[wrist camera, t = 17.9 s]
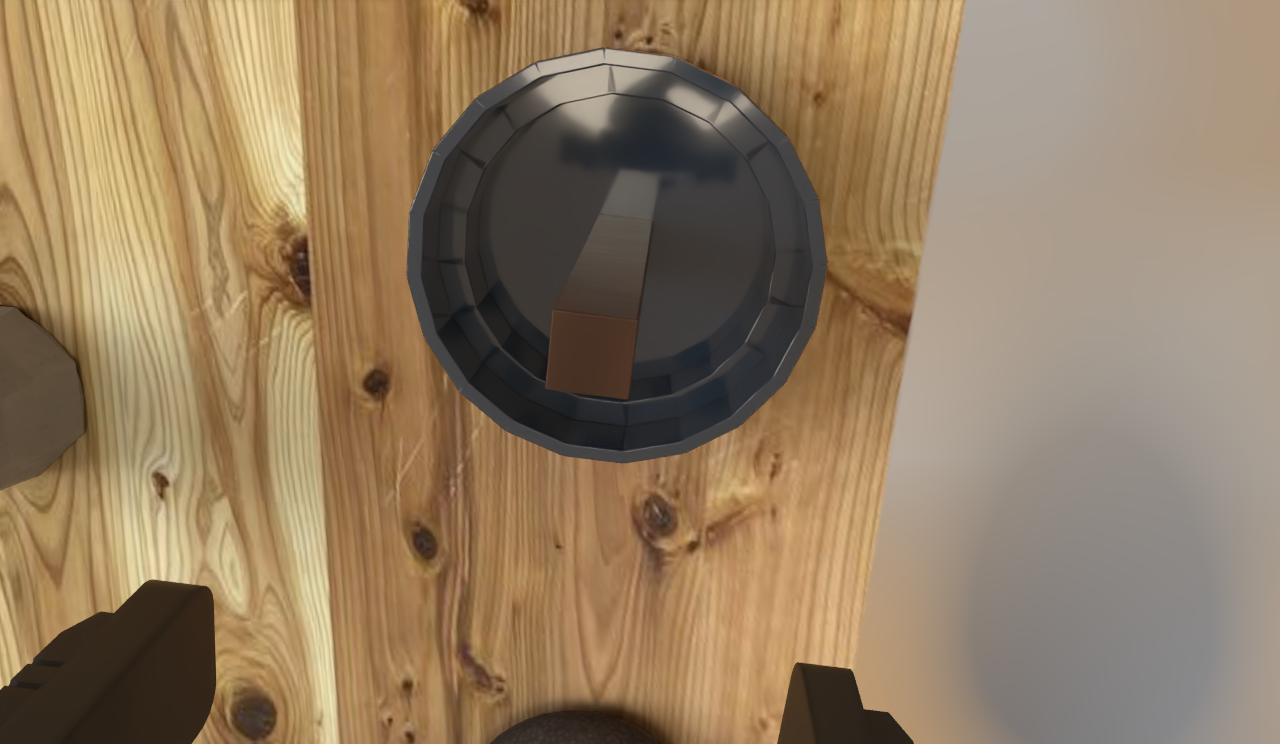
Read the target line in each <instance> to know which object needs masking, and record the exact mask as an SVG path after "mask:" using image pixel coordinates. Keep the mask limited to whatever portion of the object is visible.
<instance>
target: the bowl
mask: <svg viewBox="0 0 1280 744" xmlns="http://www.w3.org/2000/svg"><path fill="white" fill-rule="evenodd" d="M599 214H601V215H609V216H617V217H625V218H633V219H641V220H649V221H653V226H652V234H651V242H650V250H649V258H648V266H647V274H646V281H645V288H644V295H643V302H642V309H641V316H640V323H639V330H638V336H637V343H636V350H635V357H634V364H633V371H632V378H631V385H630V392H629V398H628V399H619V398H611V397H603V396H595V395H587V394H579V393H571V392H563V391H556V390H548V389H546V388H545V387H546V376H547V365H548V355H549V344H550V333H551V322H552V311H553V309H554V307H555V305H556V302H557V300H558V298H559V296H560V294H561V292H562V290H563V288H564V286H565V284H566V282H567V280H568V278H569V275H570V273H571V271H572V269H573V267H574V265H575V263H576V261H577V259H578V257H579V255H580V253H581V251H582V249H583V246H584V244H585V242H586V240H587V238H588V236H589V234H590V232H591V230H592V228H593V226H594V224H595V222H596V220H597V217H598V215H599ZM827 263H828V262H827V254H826V247H825V240H824V232H823V225H822V218H821V210H820V203H819V199H818V196H817V194H816V191H815V189H814V187H813V185H812V183H811V181H810V179H809V177H808V175H807V173H806V171H805V169H804V167H803V165H802V163H801V161H800V159H799V157H798V155H797V153H796V151H795V149H794V147H793V145H792V143H791V141H790V139H789V138H788V137H787V135H786V134H785V133H784V132H783V131H782V130H781V129H780V128H779V127H778V126H777V125H776V124H775V123H774V122H773V121H772V120H771V119H770V118H769V117H768V116H767V115H766V114H765V113H764V112H763V111H762V110H761V109H760V108H759V107H758V106H757V105H756V104H755V103H754V102H753V101H752V100H751V99H750V98H749V97H748V96H747V95H746V94H745V93H744V92H743V91H742V90H741V89H740V88H738V87H737V86H736V85H734V84H732V83H731V82H729V81H727V80H725V79H723V78H721V77H719V76H717V75H715V74H713V73H711V72H709V71H707V70H705V69H703V68H701V67H699V66H697V65H695V64H693V63H691V62H689V61H687V60H684V59H682V58H680V57H678V56H675V55H671V54H663V53H655V52H647V51H639V50H631V49H623V48H611V47H606V48H598V49H593V50H589V51H584V52H579V53H574V54H569V55H565V56H560V57H555V58H550V59H546V60H541V61H537V62H535V63H532V64H531V65H529V66H527V67H526V68H524V69H522V70H521V71H519V72H517V73H516V74H514V75H512V76H511V77H509V78H507V79H506V80H504V81H502V82H501V83H499V84H497V85H496V86H494V87H492V88H491V89H489V90H487V91H486V92H484V93H482V94H481V95H479V96H478V97H477V98H475V99H474V100H473V102H472V103H471V104H470V105H469V106H468V108H467V109H466V110H465V111H464V112H463V114H462V115H461V116H460V117H459V118H458V120H457V121H456V122H455V123H454V124H453V126H452V127H451V128H450V129H449V130H448V132H447V133H446V134H445V135H444V136H443V138H442V139H441V140H440V141H439V142H438V144H437V145H436V146H435V147H434V150H433V151H432V153H431V155H430V158H429V160H428V163H427V166H426V168H425V171H424V174H423V176H422V179H421V182H420V184H419V187H418V189H417V192H416V195H415V197H414V200H413V203H412V205H411V208H410V212H409V226H408V251H407V279H408V283H409V287H410V290H411V294H412V297H413V301H414V304H415V308H416V312H417V315H418V319H419V322H420V326H421V329H422V333H423V336H424V337H425V340H426V342H427V344H428V345H429V347H430V348H431V350H432V351H433V353H434V354H435V356H436V357H437V359H438V360H439V362H440V364H441V365H442V367H443V368H444V370H445V371H446V373H447V374H448V376H449V377H450V379H451V380H452V382H453V384H454V385H455V387H456V388H457V390H459V392H460V393H461V394H462V395H464V396H465V397H466V398H467V399H468V400H469V401H471V402H472V403H473V404H474V405H475V406H477V407H478V408H479V409H480V410H481V411H483V412H484V413H485V414H486V415H487V416H488V417H490V418H491V419H492V420H493V421H494V422H496V423H497V424H498V425H499V426H500V427H502V428H503V429H504V430H505V431H506V430H507V432H509V433H511V434H514V435H516V436H518V437H521V438H523V439H525V440H527V441H530V442H532V443H534V444H537V445H539V446H541V447H543V448H546V449H548V450H550V451H553V452H555V453H557V454H559V455H563V456H568V457H576V458H584V459H592V460H600V461H608V462H616V463H630V462H636V461H642V460H648V459H655V458H661V457H667V456H673V455H679V454H684V453H687V452H689V451H691V450H693V449H695V448H697V447H699V446H701V445H703V444H705V443H707V442H709V441H711V440H713V439H715V438H717V437H719V436H721V435H723V434H725V433H727V432H729V431H732V430H734V429H736V428H738V427H739V425H742V424H743V423H744V422H745V421H746V420H747V419H748V418H749V417H750V416H751V415H753V414H754V413H755V412H756V411H757V410H758V409H759V408H760V407H761V406H762V405H763V404H764V403H765V402H766V401H767V400H768V399H769V398H770V397H772V396H773V395H774V394H775V393H776V392H777V391H778V390H779V389H780V388H781V387H782V386H783V385H784V384H785V382H786V381H787V379H788V378H789V376H790V374H791V372H792V370H793V369H794V367H795V365H796V363H797V361H798V359H799V358H800V356H801V354H802V352H803V350H804V349H805V347H806V345H807V343H808V341H809V339H810V338H811V336H812V334H813V332H814V330H815V327H816V325H817V319H818V314H819V309H820V303H821V298H822V293H823V287H824V282H825V277H826V271H827Z"/></svg>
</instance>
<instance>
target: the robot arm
mask: <svg viewBox="0 0 1280 744" xmlns="http://www.w3.org/2000/svg"><path fill="white" fill-rule="evenodd" d="M215 688H216V660H215V629H214V601H213V595H212V592H211V590H210V589H209V588H208V587H207V586H199V585H192V584H184V583H176V582H168V581H160V580H149V581H147V582H145V583H144V584H143V585H142V586H141V587H140V588H139V589H138V590H137V591H136V592H135V593H134V594H133V595H132V596H131V597H130V598H129V599H128V600H127V601H126V602H125V603H124V604H123V605H122V606H121V607H120V608H119V609H118V610H117V611H116V612H115V613H108V612H99V613H97V614H95V615H93V616H91V617H89V618H88V619H86V620H84V621H82V622H80V623H78V624H76V625H74V626H72V627H70V628H69V629H67V630H65V631H63V632H61V633H60V634H59V635H58V636H57V637H56V638H55V639H54V640H53V641H52V642H50V643H49V644H48V645H47V646H46V647H45V648H44V649H43V650H42V651H41V652H40V653H39V654H38V655H37V656H36V657H35V658H34V659H33V663H32V664H27V665H26V666H25V667H24V668H23V669H22V670H21V671H20V672H19V673H18V674H17V675H16V676H15V677H13V678H12V679H11V682H10V685H9V686H4V687H3V688H2V689H1V690H0V744H192V742H193V741H194V740H195V738H196V737H197V735H198V734H199V732H200V731H201V729H202V728H203V726H204V724H205V722H206V720H207V718H208V715H209V713H210V710H211V707H212V703H213V699H214V695H215ZM777 744H914V743H913V741H912V740H911V738H910V737H909V736H908V735H907V734H906V733H905V731H904V730H903V729H902V728H901V727H900V725H899V724H898V723H897V722H896V721H895V719H894V718H893V717H892V716H891V715H890V714H889V713H888V712H880V711H873V710H865V709H863V705H862V702H861V698H860V694H859V691H858V687H857V684H856V680H855V677H854V674H853V672H852V670H851V669H846V668H838V667H830V666H822V665H814V664H806V663H798V662H797V663H796V664H795V666H794V668H793V671H792V675H791V680H790V685H789V689H788V694H787V699H786V704H785V709H784V714H783V719H782V724H781V728H780V733H779V738H778V743H777Z"/></svg>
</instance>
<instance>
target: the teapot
mask: <svg viewBox="0 0 1280 744" xmlns="http://www.w3.org/2000/svg"><path fill="white" fill-rule="evenodd" d="M490 744H661V743H660V742H659V741H658V740H656V739H655V738H654V737H652V736H651V735H650V734H648V733H647V732H646V731H644V730H643V729H641V728H639V727H636V726H634V725H632V724H630V723H628V722H626V721H624V720H622V719H619V718H617V717H614V716H610V715H607V714H603V713H599V712H588V711H563V712H553V713H548V714H542V715H539V716H536V717H533V718H530V719H527V720H525V721H523V722H521V723H518V724H516V725H514V726H513V727H511V728H510V729H508V730H507V731H505V732H504V733H502V734H500V735H499V736H497V737H496V738H495V739H494V740H493V741H492V742H491V743H490Z"/></svg>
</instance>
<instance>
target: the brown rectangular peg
mask: <svg viewBox="0 0 1280 744" xmlns="http://www.w3.org/2000/svg"><path fill="white" fill-rule="evenodd" d="M652 226H653V221H649V220H641V219H633V218H625V217H617V216H609V215H601V214H599V215H598V217H597V220H596V222H595V224H594V226H593V228H592V230H591V232H590V234H589V236H588V238H587V240H586V242H585V244H584V246H583V249H582V251H581V253H580V255H579V257H578V259H577V261H576V263H575V265H574V267H573V269H572V271H571V273H570V275H569V278H568V280H567V282H566V284H565V286H564V288H563V290H562V292H561V294H560V296H559V298H558V300H557V302H556V305H555V307H554V309H553V311H552V322H551V333H550V344H549V355H548V365H547V376H546V387H545V388H546V389H548V390H556V391H563V392H571V393H579V394H587V395H595V396H603V397H611V398H619V399H628V398H629V392H630V385H631V378H632V371H633V364H634V357H635V350H636V343H637V336H638V330H639V323H640V316H641V309H642V302H643V295H644V288H645V281H646V274H647V266H648V258H649V250H650V242H651V234H652Z"/></svg>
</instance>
